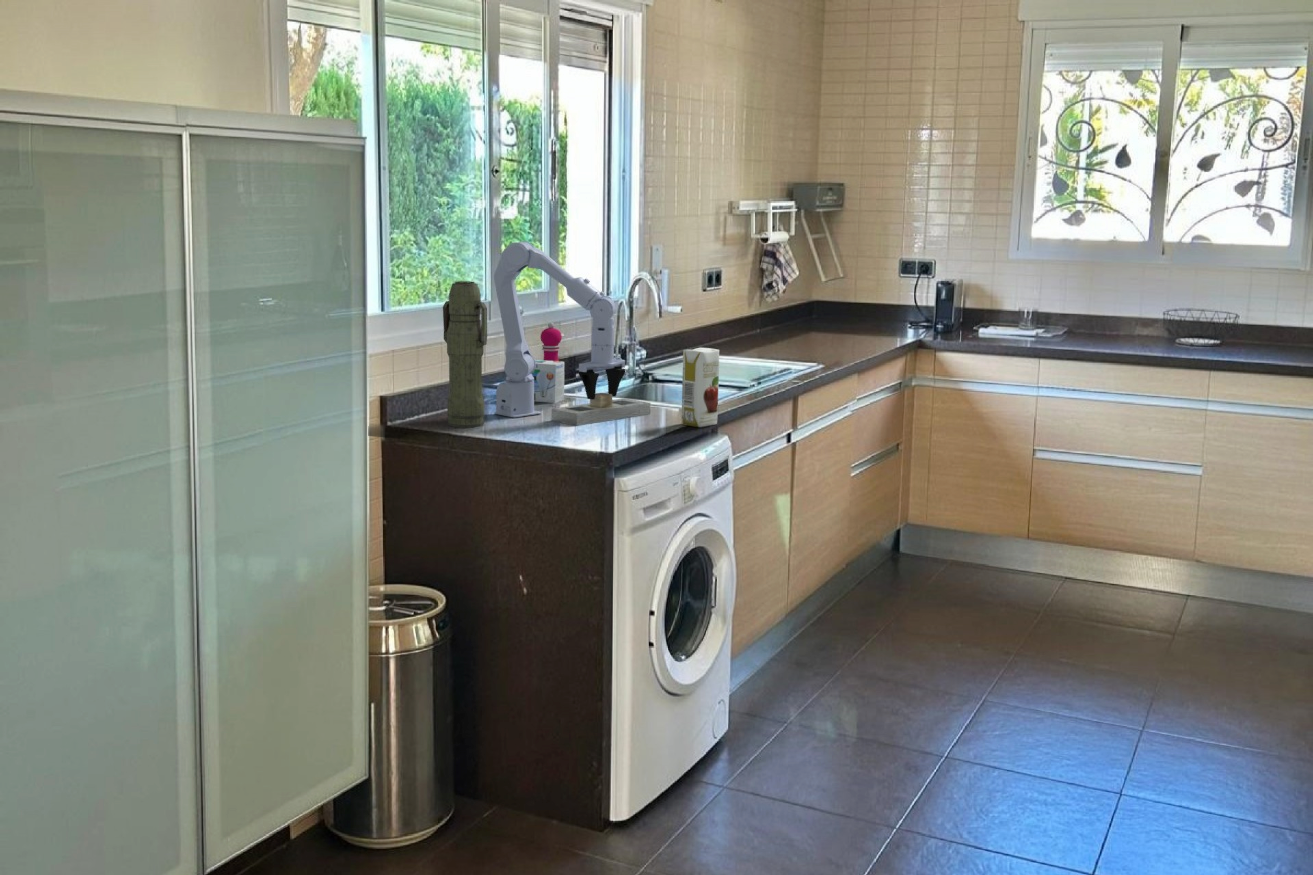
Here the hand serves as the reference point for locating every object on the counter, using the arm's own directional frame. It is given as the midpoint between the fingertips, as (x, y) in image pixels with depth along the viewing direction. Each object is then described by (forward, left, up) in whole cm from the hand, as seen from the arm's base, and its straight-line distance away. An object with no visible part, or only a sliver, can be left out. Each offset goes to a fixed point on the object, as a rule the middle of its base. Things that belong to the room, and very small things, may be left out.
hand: (601, 397), depth 335 cm
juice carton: (+12, -23, -5) cm, 27 cm away
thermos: (-33, +14, -5) cm, 36 cm away
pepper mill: (+17, +39, -5) cm, 43 cm away
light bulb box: (+6, +30, -5) cm, 31 cm away
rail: (0, 0, -5) cm, 5 cm away
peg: (0, 0, -5) cm, 5 cm away
